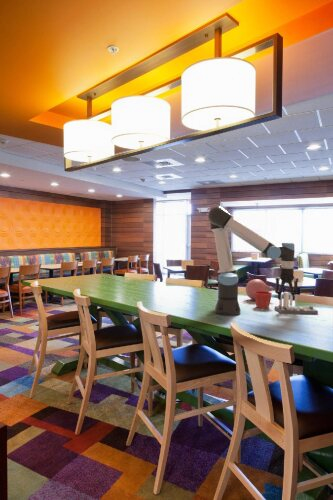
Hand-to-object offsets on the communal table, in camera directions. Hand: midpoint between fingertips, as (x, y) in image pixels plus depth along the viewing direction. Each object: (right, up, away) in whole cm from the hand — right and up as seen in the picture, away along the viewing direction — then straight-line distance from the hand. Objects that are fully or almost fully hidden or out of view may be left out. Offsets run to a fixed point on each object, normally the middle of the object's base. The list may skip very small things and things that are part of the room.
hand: (285, 305), depth 204 cm
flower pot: (-11, -4, +12) cm, 17 cm away
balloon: (-6, -3, +36) cm, 36 cm away
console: (+6, -4, 0) cm, 7 cm away
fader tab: (0, -2, 0) cm, 2 cm away
